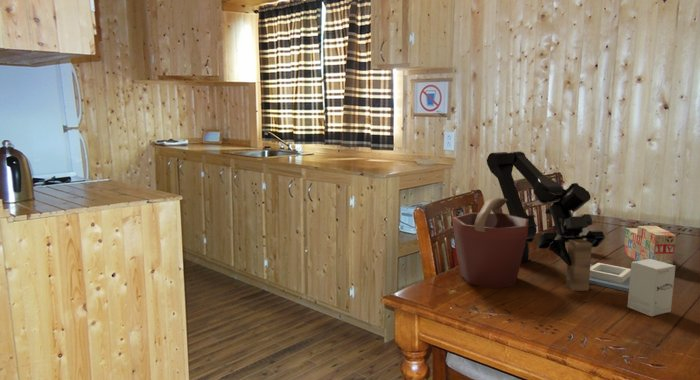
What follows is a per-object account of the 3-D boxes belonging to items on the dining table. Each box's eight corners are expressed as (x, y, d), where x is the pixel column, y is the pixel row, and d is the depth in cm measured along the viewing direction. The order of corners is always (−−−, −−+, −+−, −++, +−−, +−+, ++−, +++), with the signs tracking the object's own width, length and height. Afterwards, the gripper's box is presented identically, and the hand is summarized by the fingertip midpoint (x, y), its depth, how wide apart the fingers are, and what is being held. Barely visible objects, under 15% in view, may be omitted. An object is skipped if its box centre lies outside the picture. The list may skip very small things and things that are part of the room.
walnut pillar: (565, 285, 154) (568, 239, 151) (580, 284, 154) (583, 239, 152) (573, 290, 149) (576, 243, 147) (588, 290, 150) (591, 243, 147)
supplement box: (652, 317, 131) (656, 269, 128) (626, 307, 137) (630, 261, 135) (672, 312, 133) (676, 265, 131) (645, 302, 140) (649, 257, 138)
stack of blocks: (623, 252, 187) (625, 219, 185) (641, 253, 187) (644, 219, 185) (652, 271, 166) (655, 234, 164) (672, 272, 166) (676, 234, 164)
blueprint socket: (572, 279, 159) (572, 270, 158) (590, 267, 170) (591, 258, 170) (629, 292, 148) (630, 281, 148) (644, 278, 159) (645, 268, 159)
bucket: (481, 262, 176) (483, 190, 172) (544, 277, 161) (548, 198, 156) (438, 280, 159) (440, 200, 155) (503, 298, 144) (507, 210, 140)
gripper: (543, 205, 152) (558, 252, 143) (604, 204, 153) (623, 250, 144) (530, 225, 161) (544, 270, 152) (588, 223, 162) (605, 268, 153)
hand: (579, 264), depth 150 cm, fingers open, 5 cm apart
